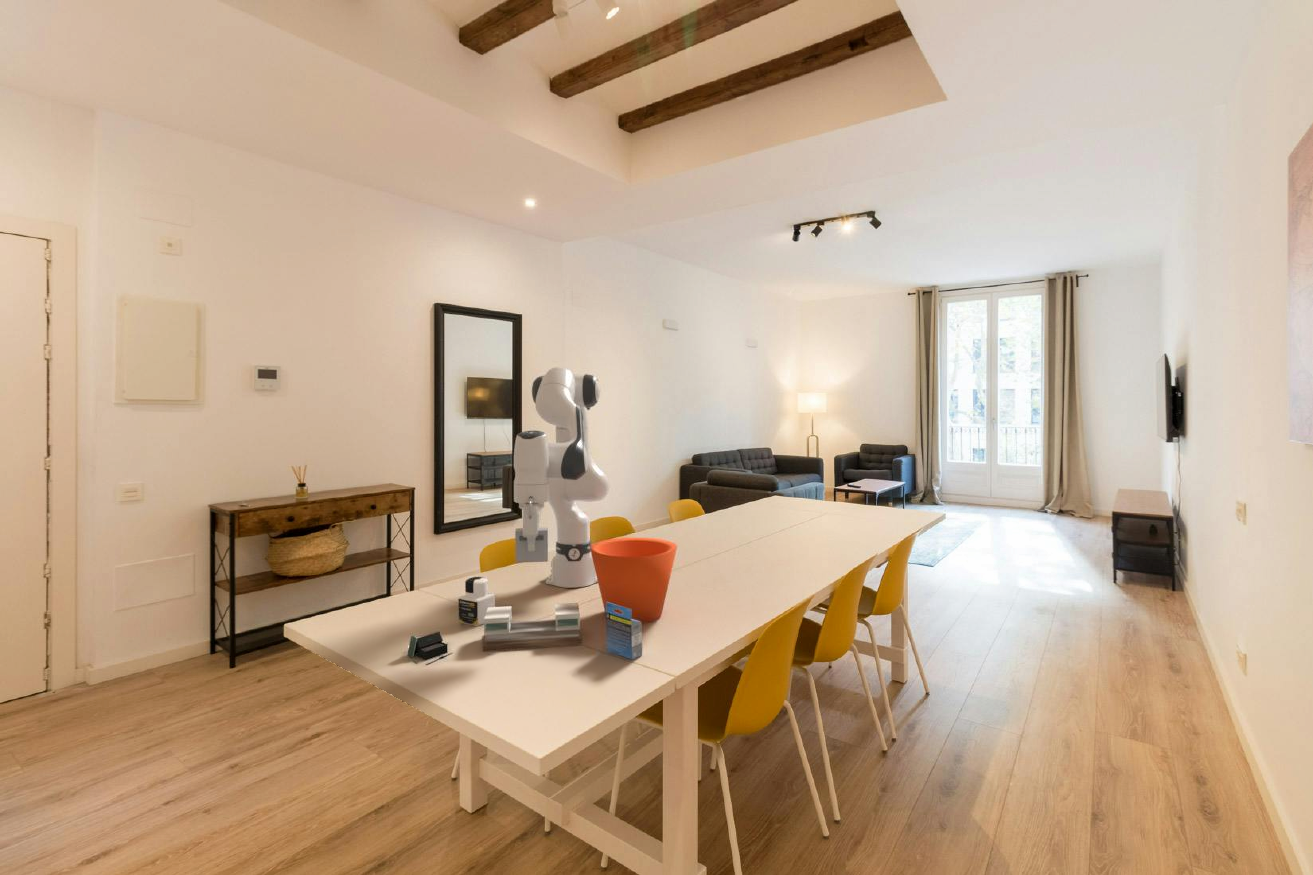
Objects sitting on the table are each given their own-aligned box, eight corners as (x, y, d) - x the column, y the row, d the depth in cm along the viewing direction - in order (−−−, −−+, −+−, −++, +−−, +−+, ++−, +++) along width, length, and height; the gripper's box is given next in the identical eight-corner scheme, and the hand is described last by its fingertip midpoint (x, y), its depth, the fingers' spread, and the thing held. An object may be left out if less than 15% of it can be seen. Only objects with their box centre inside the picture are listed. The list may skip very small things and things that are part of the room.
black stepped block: (441, 639, 161) (441, 618, 160) (475, 653, 151) (475, 631, 151) (385, 657, 149) (384, 634, 149) (418, 673, 139) (417, 649, 139)
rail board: (487, 633, 163) (487, 605, 163) (579, 628, 167) (579, 600, 167) (482, 651, 151) (482, 621, 151) (581, 644, 155) (581, 615, 155)
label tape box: (643, 655, 149) (642, 605, 148) (631, 660, 145) (631, 609, 145) (616, 646, 154) (616, 597, 154) (605, 651, 151) (604, 601, 151)
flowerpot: (668, 632, 164) (668, 558, 163) (578, 626, 169) (577, 554, 168) (683, 603, 188) (683, 539, 187) (604, 598, 193) (604, 535, 192)
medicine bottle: (458, 622, 172) (457, 579, 171) (476, 614, 178) (476, 573, 177) (477, 626, 168) (476, 583, 168) (495, 618, 175) (495, 576, 174)
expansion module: (516, 559, 160) (516, 528, 159) (547, 558, 161) (547, 527, 161) (515, 563, 156) (515, 531, 155) (547, 561, 157) (547, 530, 157)
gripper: (543, 499, 148) (543, 557, 149) (544, 489, 168) (545, 540, 169) (516, 500, 147) (516, 557, 148) (521, 490, 167) (521, 540, 168)
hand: (531, 548), depth 158 cm, fingers closed on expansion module, 4 cm apart
